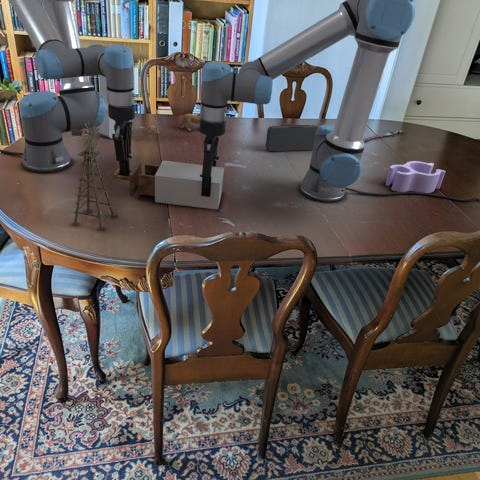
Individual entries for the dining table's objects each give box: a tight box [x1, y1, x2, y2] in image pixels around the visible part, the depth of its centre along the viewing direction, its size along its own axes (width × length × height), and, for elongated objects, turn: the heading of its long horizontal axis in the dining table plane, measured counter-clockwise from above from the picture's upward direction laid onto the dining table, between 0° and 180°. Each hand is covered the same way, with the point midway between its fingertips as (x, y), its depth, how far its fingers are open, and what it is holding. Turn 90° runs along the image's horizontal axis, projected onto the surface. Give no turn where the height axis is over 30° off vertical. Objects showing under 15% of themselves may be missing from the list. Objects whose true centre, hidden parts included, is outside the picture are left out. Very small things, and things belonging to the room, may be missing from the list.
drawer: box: [112, 160, 161, 197], centre depth 146 cm, size 24×10×7 cm, turn 86°
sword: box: [362, 130, 405, 143], centre depth 214 cm, size 31×3×1 cm, turn 126°
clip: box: [385, 160, 447, 194], centre depth 170 cm, size 20×12×7 cm, turn 109°
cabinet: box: [154, 160, 225, 210], centre depth 146 cm, size 20×11×9 cm, turn 86°
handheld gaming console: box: [264, 124, 320, 152], centre depth 189 cm, size 23×3×10 cm, turn 108°
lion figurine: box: [177, 112, 201, 132], centre depth 198 cm, size 15×5×9 cm, turn 110°
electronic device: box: [96, 75, 132, 140], centre depth 180 cm, size 12×8×30 cm, turn 148°
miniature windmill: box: [70, 116, 115, 230], centre depth 124 cm, size 9×8×30 cm
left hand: (125, 178), depth 147 cm, fingers closed
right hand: (208, 187), depth 146 cm, fingers closed on cabinet, 11 cm apart
